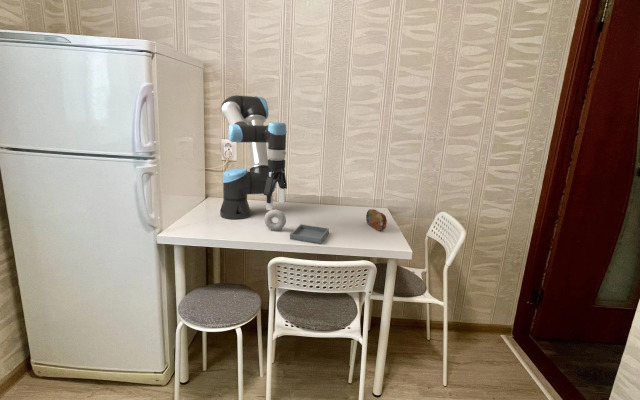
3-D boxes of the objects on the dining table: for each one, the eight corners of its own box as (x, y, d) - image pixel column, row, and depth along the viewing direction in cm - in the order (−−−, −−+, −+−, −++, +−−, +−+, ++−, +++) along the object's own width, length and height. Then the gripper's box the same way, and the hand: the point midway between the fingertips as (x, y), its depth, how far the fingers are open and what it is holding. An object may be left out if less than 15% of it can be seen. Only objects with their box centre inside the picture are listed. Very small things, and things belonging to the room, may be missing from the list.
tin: (364, 222, 173) (366, 207, 171) (370, 222, 175) (371, 206, 172) (381, 233, 160) (383, 216, 158) (386, 232, 161) (388, 215, 159)
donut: (263, 230, 154) (263, 209, 152) (265, 228, 158) (265, 207, 155) (285, 232, 154) (285, 211, 151) (286, 229, 157) (287, 209, 155)
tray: (289, 239, 146) (290, 234, 146) (300, 229, 159) (300, 224, 159) (320, 244, 143) (320, 239, 142) (328, 233, 156) (328, 228, 155)
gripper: (273, 163, 134) (272, 214, 140) (294, 156, 158) (293, 200, 163) (255, 161, 136) (255, 212, 142) (279, 154, 160) (278, 198, 165)
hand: (275, 206), depth 153 cm, fingers open, 13 cm apart
